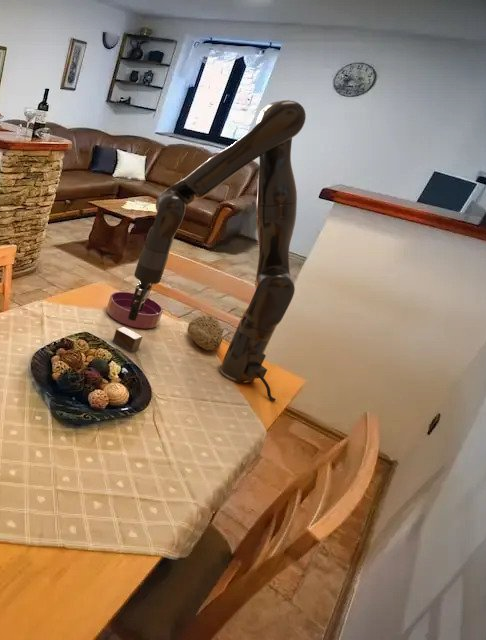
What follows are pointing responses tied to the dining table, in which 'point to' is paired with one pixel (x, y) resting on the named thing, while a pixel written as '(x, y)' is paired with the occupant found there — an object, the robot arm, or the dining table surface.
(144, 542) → the dining table surface
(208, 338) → the sponge
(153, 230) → the robot arm
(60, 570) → the dining table surface
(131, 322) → the bowl
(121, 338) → the eraser
